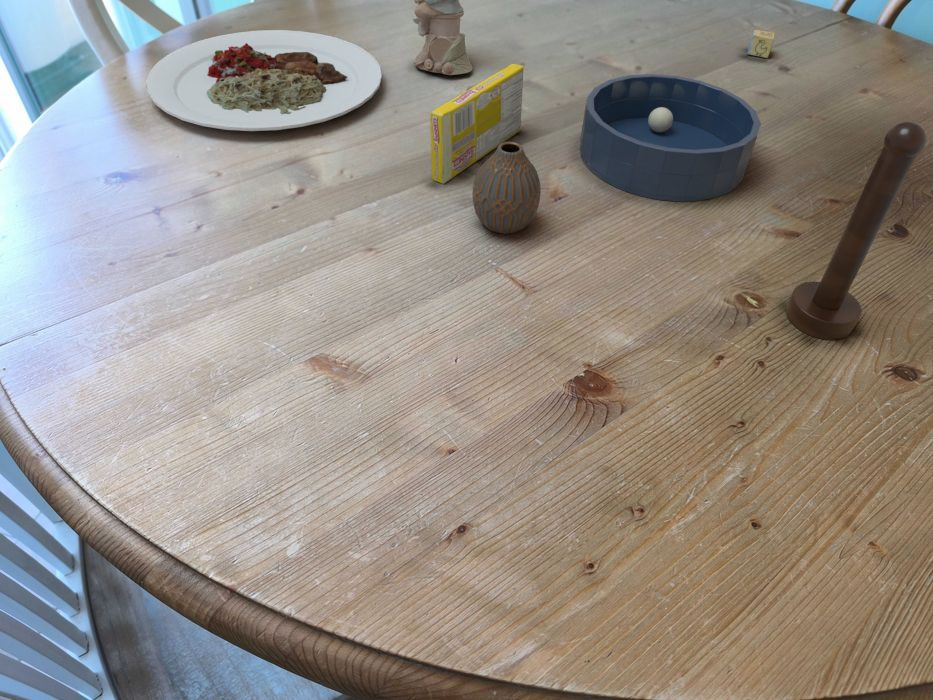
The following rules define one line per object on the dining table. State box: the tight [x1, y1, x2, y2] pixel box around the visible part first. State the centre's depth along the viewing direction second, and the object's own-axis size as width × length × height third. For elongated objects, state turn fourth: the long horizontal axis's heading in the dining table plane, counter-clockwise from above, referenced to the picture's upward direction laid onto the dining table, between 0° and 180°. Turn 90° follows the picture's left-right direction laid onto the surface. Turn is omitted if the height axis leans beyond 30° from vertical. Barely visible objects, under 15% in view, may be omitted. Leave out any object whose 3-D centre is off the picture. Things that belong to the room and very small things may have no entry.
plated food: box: [145, 29, 383, 132], centre depth 98 cm, size 30×30×3 cm
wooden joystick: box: [785, 120, 927, 341], centre depth 63 cm, size 6×6×19 cm
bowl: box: [579, 73, 762, 202], centre depth 88 cm, size 20×20×6 cm
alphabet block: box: [746, 29, 776, 59], centre depth 114 cm, size 3×3×3 cm
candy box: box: [429, 63, 525, 185], centre depth 86 cm, size 16×2×8 cm, turn 145°
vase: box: [472, 141, 542, 235], centre depth 76 cm, size 7×7×9 cm
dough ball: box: [648, 107, 673, 133], centre depth 93 cm, size 3×3×3 cm
